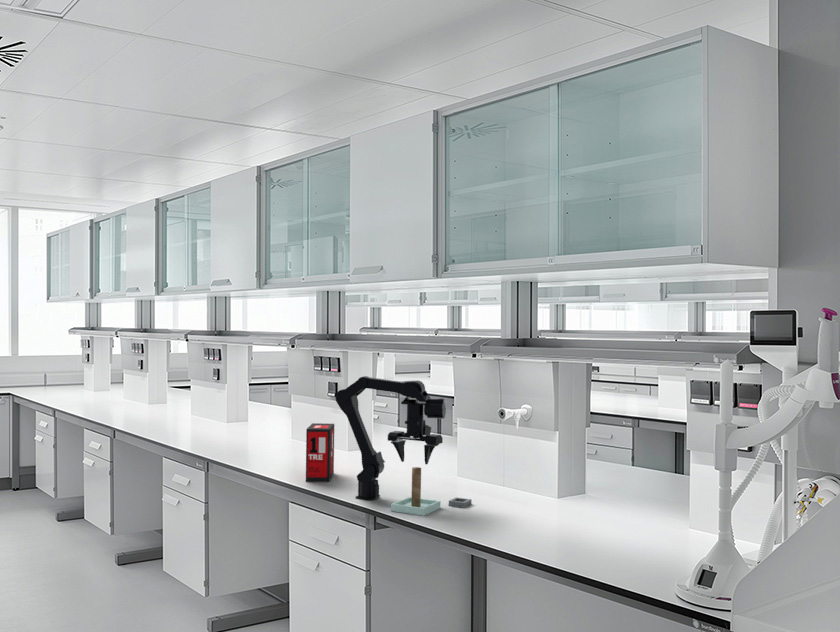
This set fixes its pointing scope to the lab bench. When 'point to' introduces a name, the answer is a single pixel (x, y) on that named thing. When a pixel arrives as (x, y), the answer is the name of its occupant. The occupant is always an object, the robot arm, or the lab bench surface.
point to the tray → (406, 507)
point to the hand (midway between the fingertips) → (414, 463)
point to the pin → (416, 487)
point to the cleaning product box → (319, 452)
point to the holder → (460, 502)
